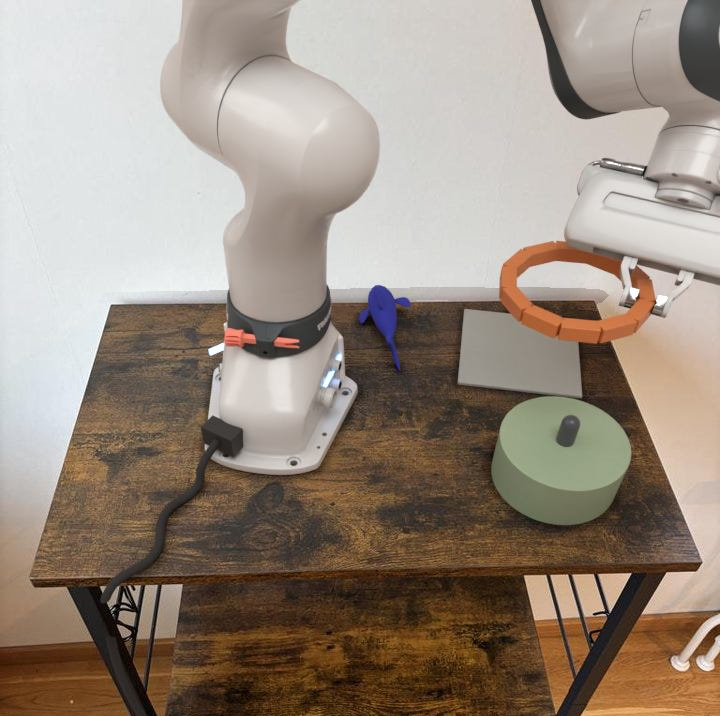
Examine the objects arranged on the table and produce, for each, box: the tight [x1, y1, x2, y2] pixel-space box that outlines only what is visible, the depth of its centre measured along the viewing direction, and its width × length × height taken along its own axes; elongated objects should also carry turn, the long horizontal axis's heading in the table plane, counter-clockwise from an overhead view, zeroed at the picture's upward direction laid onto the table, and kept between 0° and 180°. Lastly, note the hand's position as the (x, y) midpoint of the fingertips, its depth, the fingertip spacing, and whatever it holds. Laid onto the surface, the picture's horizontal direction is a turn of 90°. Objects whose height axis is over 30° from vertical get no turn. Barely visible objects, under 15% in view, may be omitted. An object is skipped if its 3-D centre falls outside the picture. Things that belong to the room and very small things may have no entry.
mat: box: [457, 308, 583, 399], centre depth 100 cm, size 16×16×1 cm
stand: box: [490, 395, 632, 526], centre depth 82 cm, size 14×14×10 cm
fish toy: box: [358, 284, 412, 372], centre depth 99 cm, size 15×8×7 cm, turn 7°
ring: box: [498, 240, 657, 345], centre depth 77 cm, size 16×16×2 cm
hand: (642, 311), depth 74 cm, fingers closed on ring, 2 cm apart
